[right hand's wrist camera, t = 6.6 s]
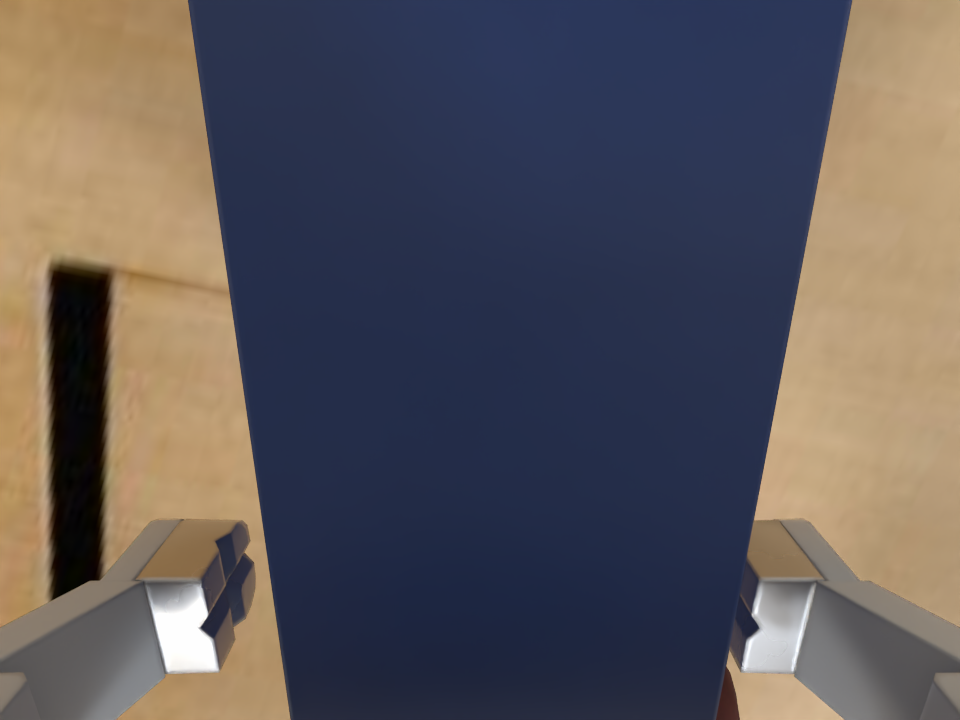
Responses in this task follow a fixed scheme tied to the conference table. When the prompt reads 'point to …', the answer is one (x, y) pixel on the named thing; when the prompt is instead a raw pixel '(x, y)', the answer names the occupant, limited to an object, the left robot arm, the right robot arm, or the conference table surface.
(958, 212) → the conference table surface
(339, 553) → the bar
